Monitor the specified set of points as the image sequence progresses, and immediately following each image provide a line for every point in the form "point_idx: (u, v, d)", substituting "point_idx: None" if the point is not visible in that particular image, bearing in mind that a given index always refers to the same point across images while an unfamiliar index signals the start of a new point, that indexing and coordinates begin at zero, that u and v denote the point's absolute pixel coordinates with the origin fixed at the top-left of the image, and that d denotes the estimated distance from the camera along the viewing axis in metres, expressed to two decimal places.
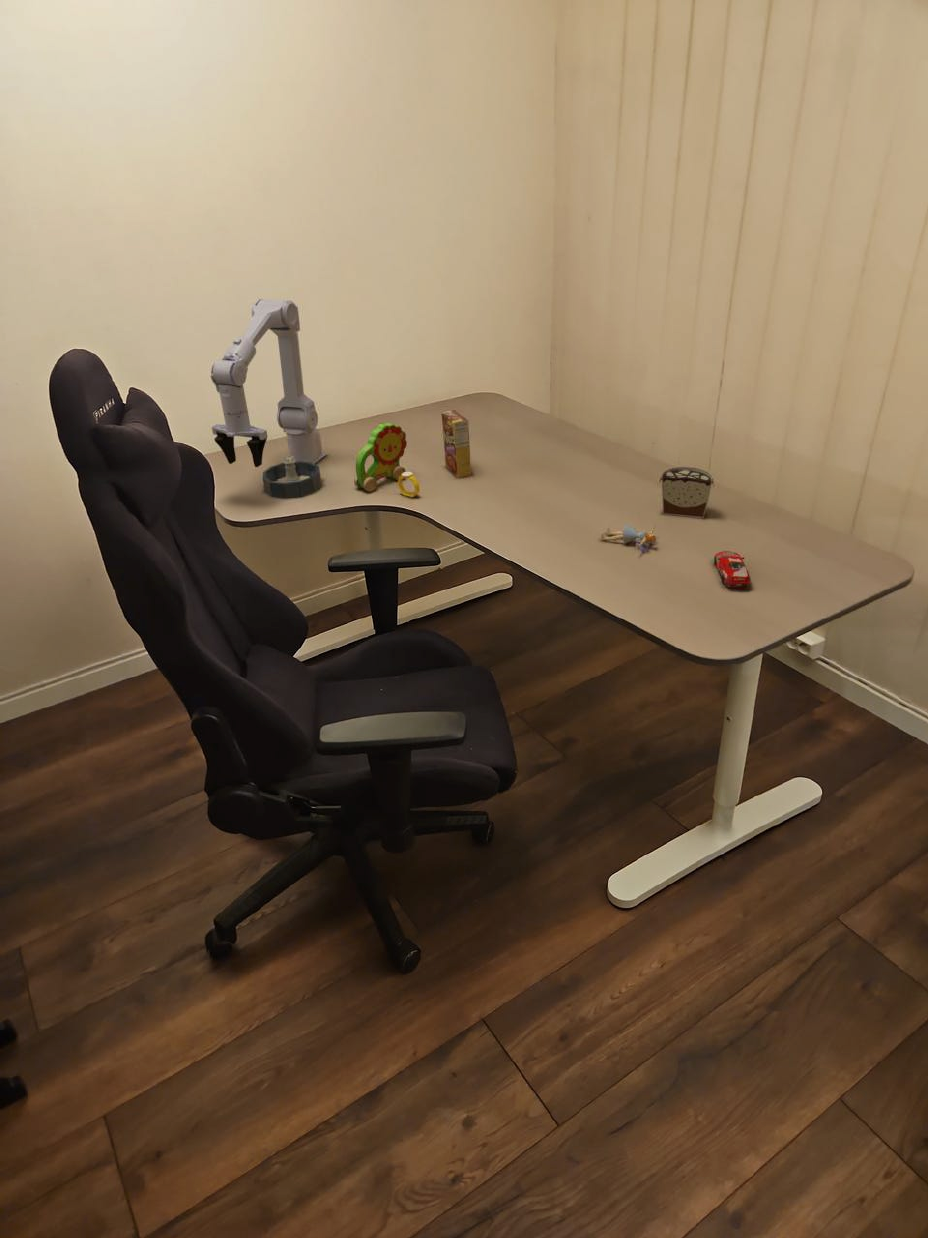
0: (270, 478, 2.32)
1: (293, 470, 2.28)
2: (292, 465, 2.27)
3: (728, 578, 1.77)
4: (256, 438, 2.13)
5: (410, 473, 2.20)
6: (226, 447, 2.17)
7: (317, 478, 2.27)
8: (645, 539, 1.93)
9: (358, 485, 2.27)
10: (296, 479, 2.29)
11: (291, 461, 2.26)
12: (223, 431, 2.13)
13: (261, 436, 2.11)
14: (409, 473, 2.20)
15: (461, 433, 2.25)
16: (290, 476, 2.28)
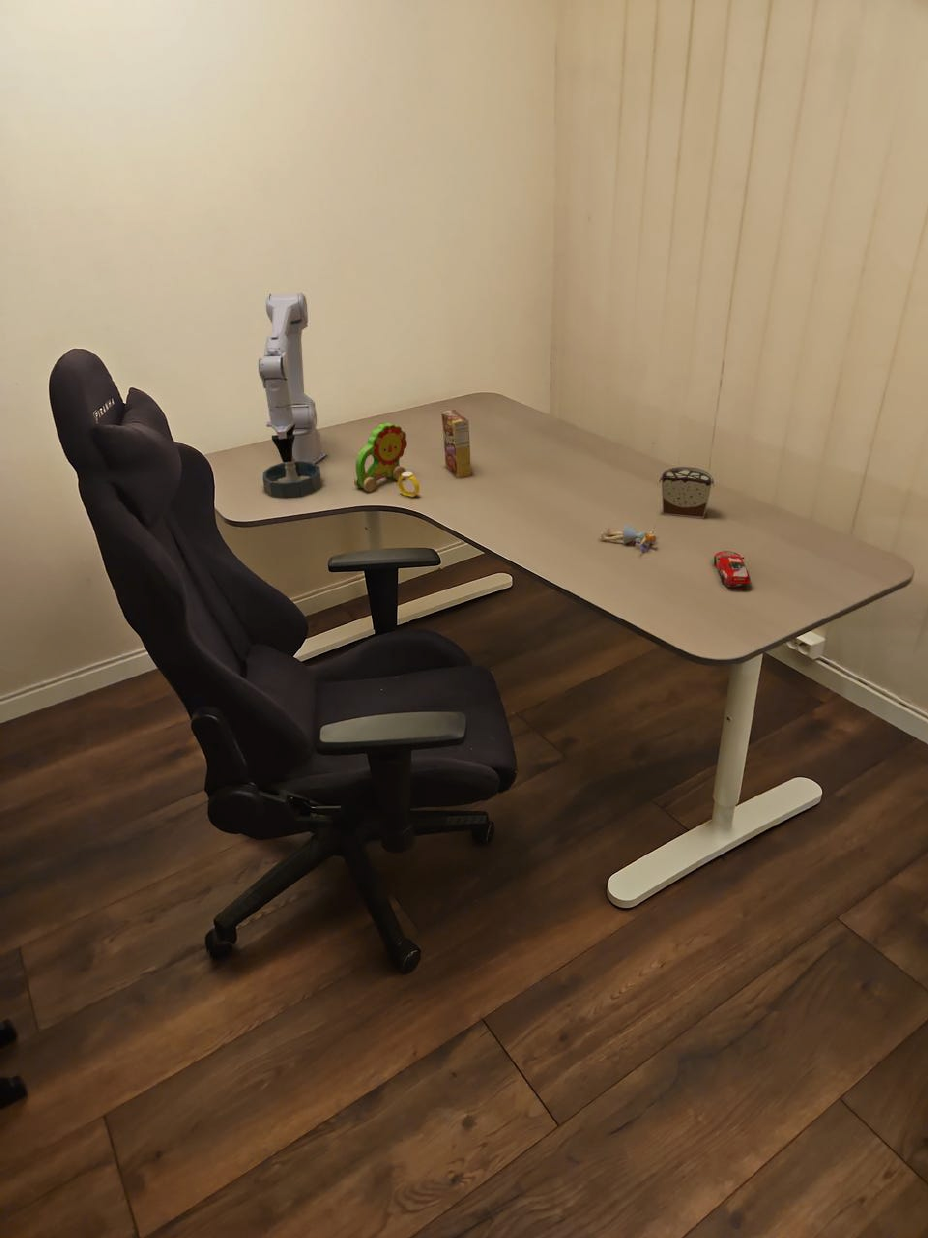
0: (270, 478, 2.32)
1: (293, 470, 2.28)
2: (292, 465, 2.27)
3: (728, 578, 1.77)
4: None
5: (410, 473, 2.20)
6: None
7: (317, 478, 2.27)
8: (645, 539, 1.93)
9: (358, 485, 2.27)
10: (296, 479, 2.29)
11: (291, 461, 2.26)
12: None
13: (278, 435, 2.16)
14: (409, 473, 2.20)
15: (461, 433, 2.25)
16: (290, 476, 2.28)
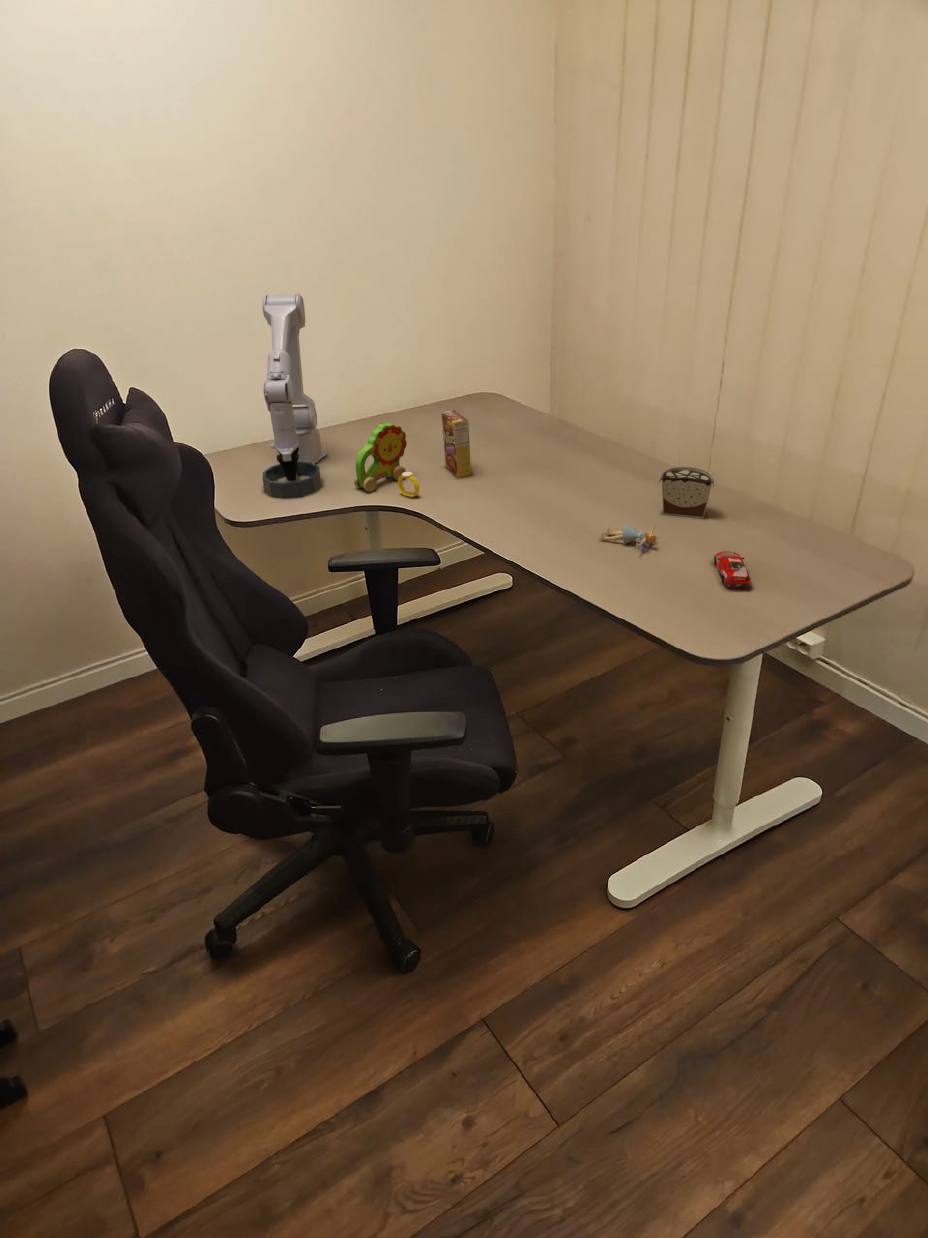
0: (270, 478, 2.32)
1: None
2: None
3: (728, 578, 1.77)
4: None
5: (410, 473, 2.20)
6: None
7: (317, 478, 2.27)
8: (645, 539, 1.93)
9: (358, 485, 2.27)
10: (296, 479, 2.29)
11: None
12: None
13: (282, 457, 2.19)
14: (409, 473, 2.20)
15: (461, 433, 2.25)
16: None
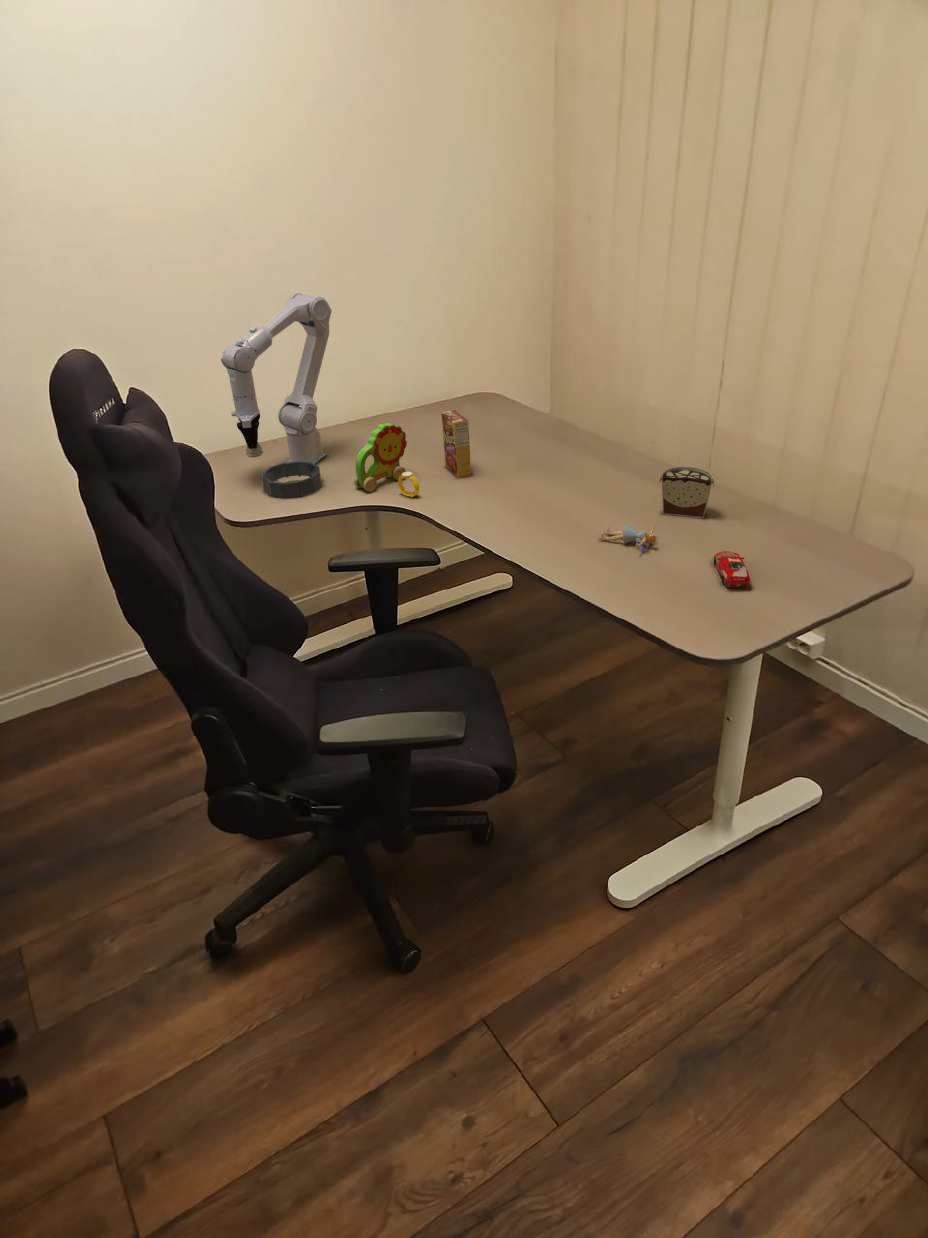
0: (270, 478, 2.32)
1: None
2: None
3: (728, 578, 1.77)
4: None
5: (410, 473, 2.20)
6: None
7: (317, 478, 2.27)
8: (645, 539, 1.93)
9: (358, 485, 2.27)
10: (257, 447, 2.30)
11: None
12: None
13: None
14: (409, 473, 2.20)
15: (461, 433, 2.25)
16: None
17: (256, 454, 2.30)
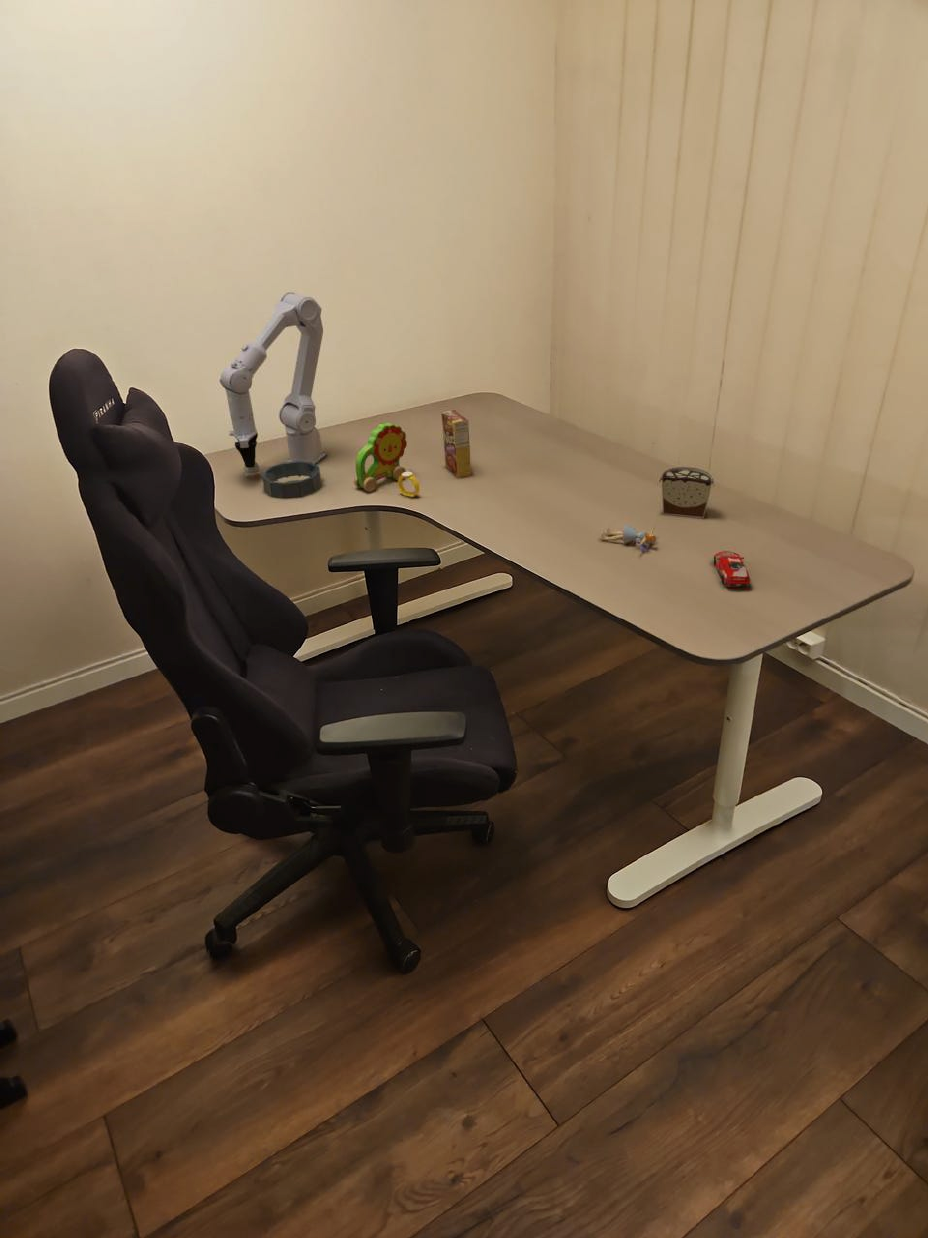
0: (270, 478, 2.32)
1: None
2: None
3: (728, 578, 1.77)
4: None
5: (410, 473, 2.20)
6: None
7: (317, 478, 2.27)
8: (645, 539, 1.93)
9: (358, 485, 2.27)
10: (255, 466, 2.34)
11: None
12: None
13: (240, 444, 2.25)
14: (409, 473, 2.20)
15: (461, 433, 2.25)
16: None
17: (254, 473, 2.34)
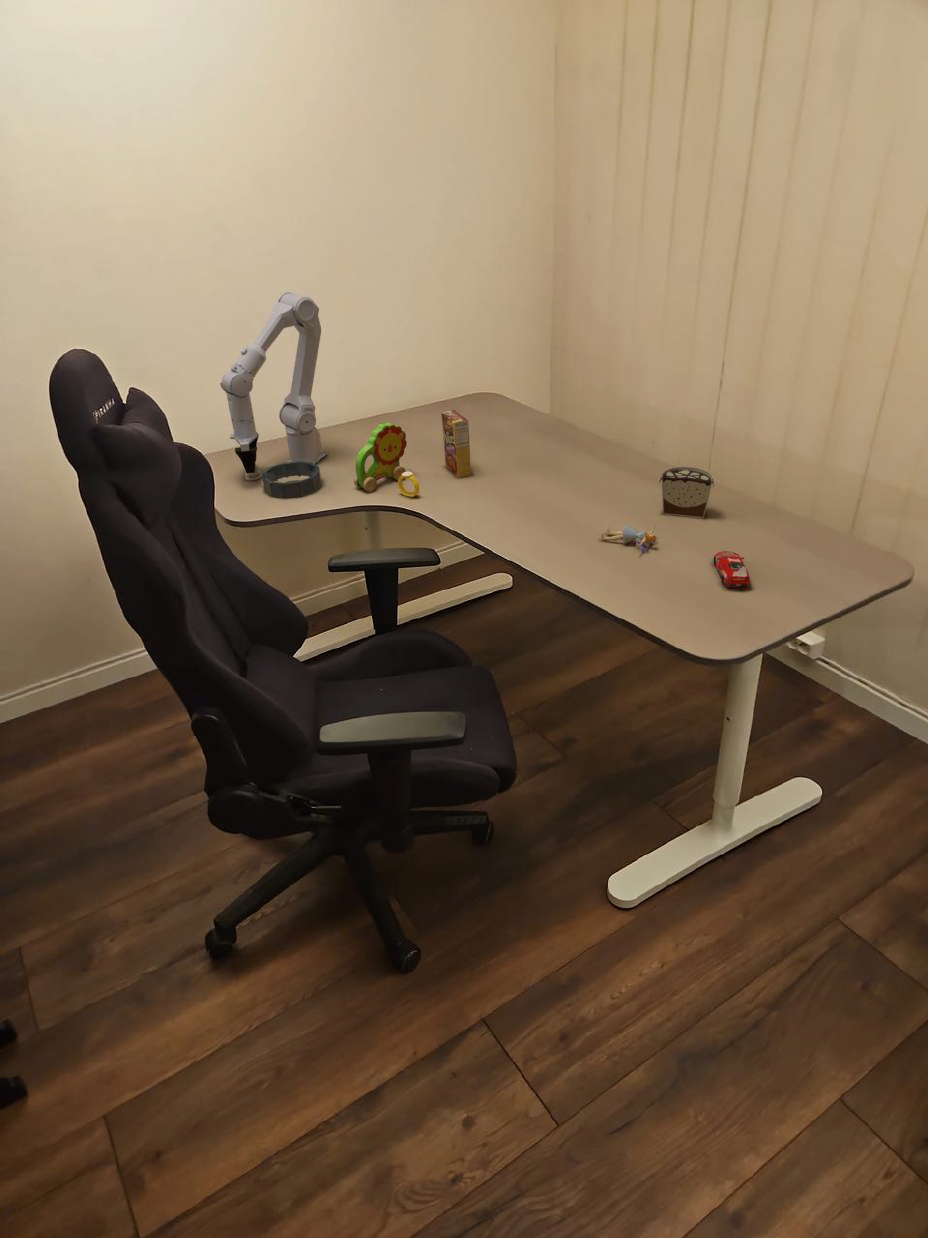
0: (270, 478, 2.32)
1: None
2: None
3: (727, 578, 1.77)
4: None
5: (410, 473, 2.20)
6: None
7: (317, 478, 2.27)
8: (645, 539, 1.93)
9: (358, 485, 2.27)
10: (255, 471, 2.35)
11: None
12: None
13: (240, 447, 2.25)
14: (409, 473, 2.20)
15: (461, 433, 2.25)
16: None
17: (254, 478, 2.35)
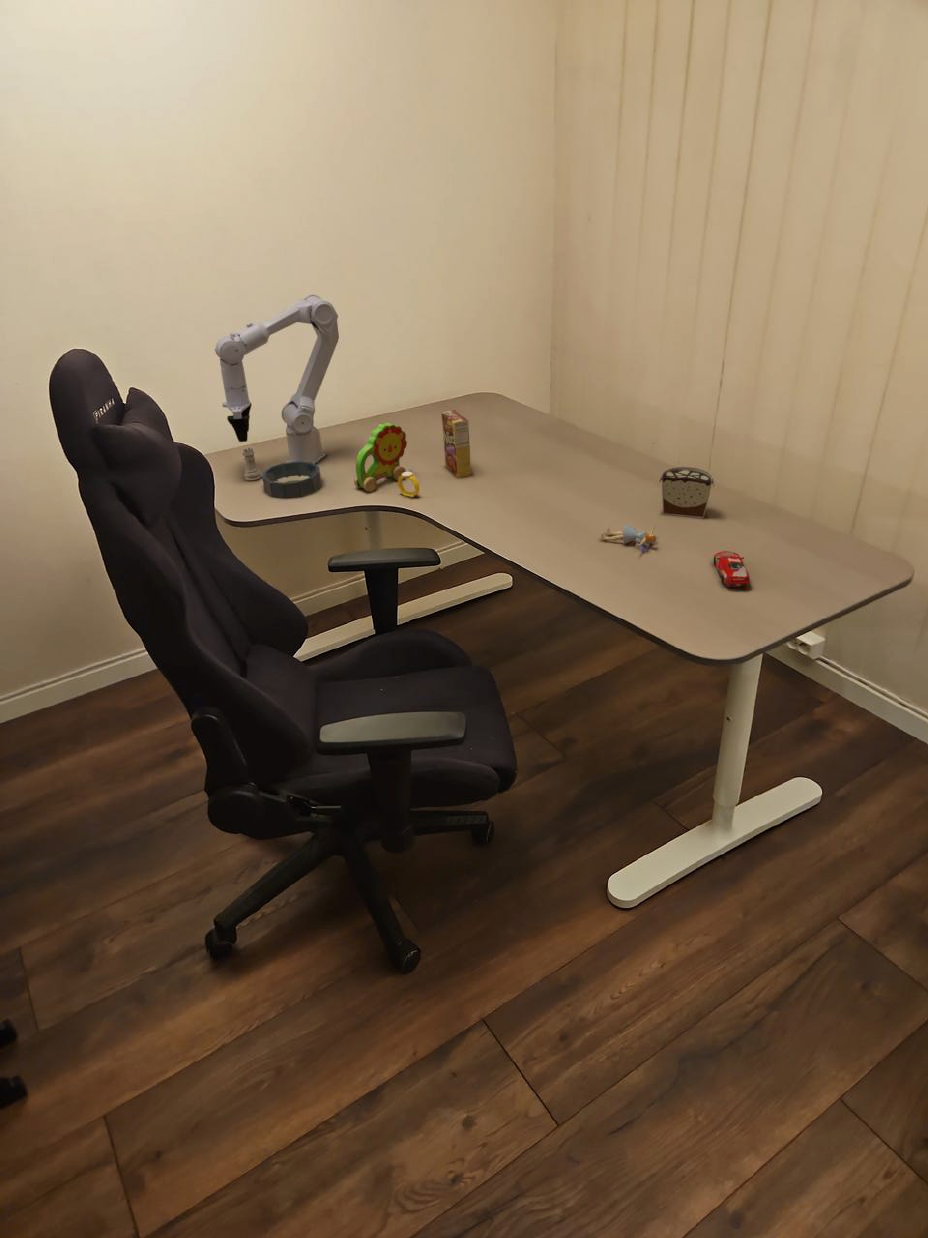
0: (270, 478, 2.32)
1: (252, 462, 2.34)
2: (251, 457, 2.33)
3: (727, 578, 1.77)
4: None
5: (410, 473, 2.20)
6: None
7: (317, 478, 2.27)
8: (645, 539, 1.93)
9: (358, 485, 2.27)
10: (255, 471, 2.35)
11: (250, 453, 2.32)
12: None
13: (233, 415, 2.24)
14: (409, 473, 2.20)
15: (461, 433, 2.25)
16: (250, 468, 2.34)
17: (254, 478, 2.35)
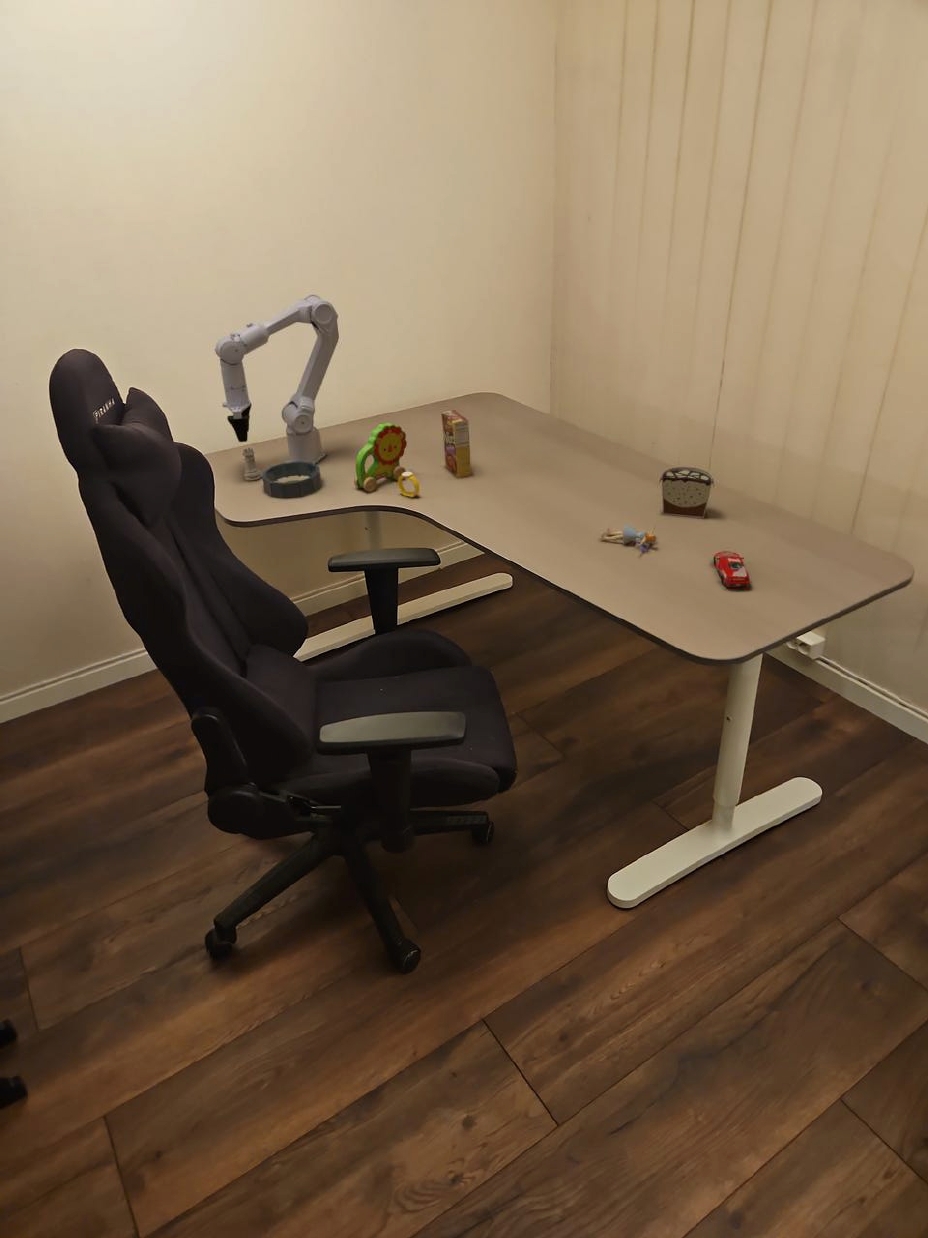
0: (270, 478, 2.32)
1: (252, 462, 2.34)
2: (251, 457, 2.33)
3: (727, 578, 1.77)
4: None
5: (410, 473, 2.20)
6: None
7: (317, 478, 2.27)
8: (645, 539, 1.93)
9: (358, 485, 2.27)
10: (255, 471, 2.35)
11: (250, 453, 2.32)
12: None
13: (233, 415, 2.24)
14: (409, 473, 2.20)
15: (461, 433, 2.25)
16: (250, 468, 2.34)
17: (254, 478, 2.35)
